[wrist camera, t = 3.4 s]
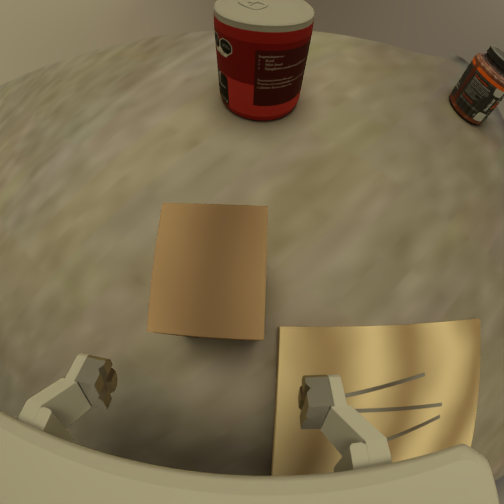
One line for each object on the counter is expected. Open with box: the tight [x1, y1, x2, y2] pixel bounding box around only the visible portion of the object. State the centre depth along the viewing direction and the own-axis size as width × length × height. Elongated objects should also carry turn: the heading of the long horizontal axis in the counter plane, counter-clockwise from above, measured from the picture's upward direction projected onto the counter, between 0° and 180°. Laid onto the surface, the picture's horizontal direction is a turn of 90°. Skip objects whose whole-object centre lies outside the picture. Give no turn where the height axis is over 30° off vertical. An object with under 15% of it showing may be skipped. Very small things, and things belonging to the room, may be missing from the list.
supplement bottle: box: [450, 45, 504, 125], centre depth 24 cm, size 6×6×11 cm
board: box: [271, 318, 480, 476], centre depth 19 cm, size 18×12×1 cm, turn 88°
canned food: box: [214, 0, 314, 120], centre depth 22 cm, size 8×8×11 cm
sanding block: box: [147, 203, 268, 341], centre depth 17 cm, size 5×6×9 cm
